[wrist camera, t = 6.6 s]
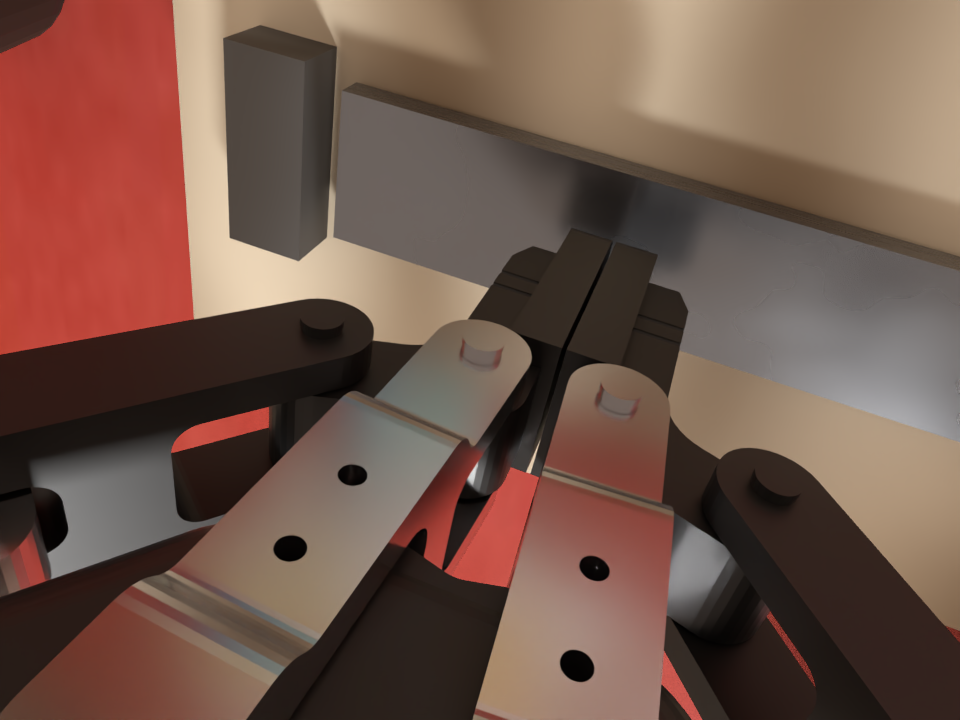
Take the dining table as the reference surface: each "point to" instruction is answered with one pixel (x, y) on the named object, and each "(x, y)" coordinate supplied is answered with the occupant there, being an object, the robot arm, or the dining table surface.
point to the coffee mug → (25, 20)
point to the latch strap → (664, 252)
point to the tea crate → (616, 132)
